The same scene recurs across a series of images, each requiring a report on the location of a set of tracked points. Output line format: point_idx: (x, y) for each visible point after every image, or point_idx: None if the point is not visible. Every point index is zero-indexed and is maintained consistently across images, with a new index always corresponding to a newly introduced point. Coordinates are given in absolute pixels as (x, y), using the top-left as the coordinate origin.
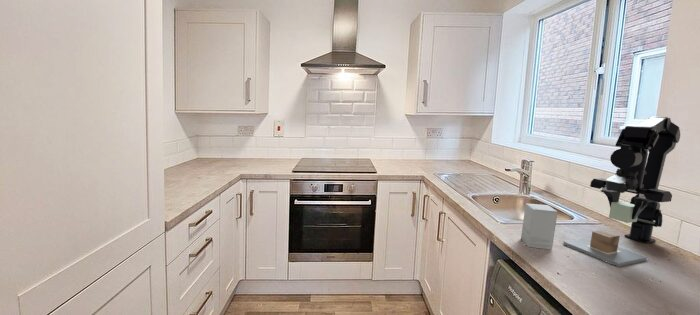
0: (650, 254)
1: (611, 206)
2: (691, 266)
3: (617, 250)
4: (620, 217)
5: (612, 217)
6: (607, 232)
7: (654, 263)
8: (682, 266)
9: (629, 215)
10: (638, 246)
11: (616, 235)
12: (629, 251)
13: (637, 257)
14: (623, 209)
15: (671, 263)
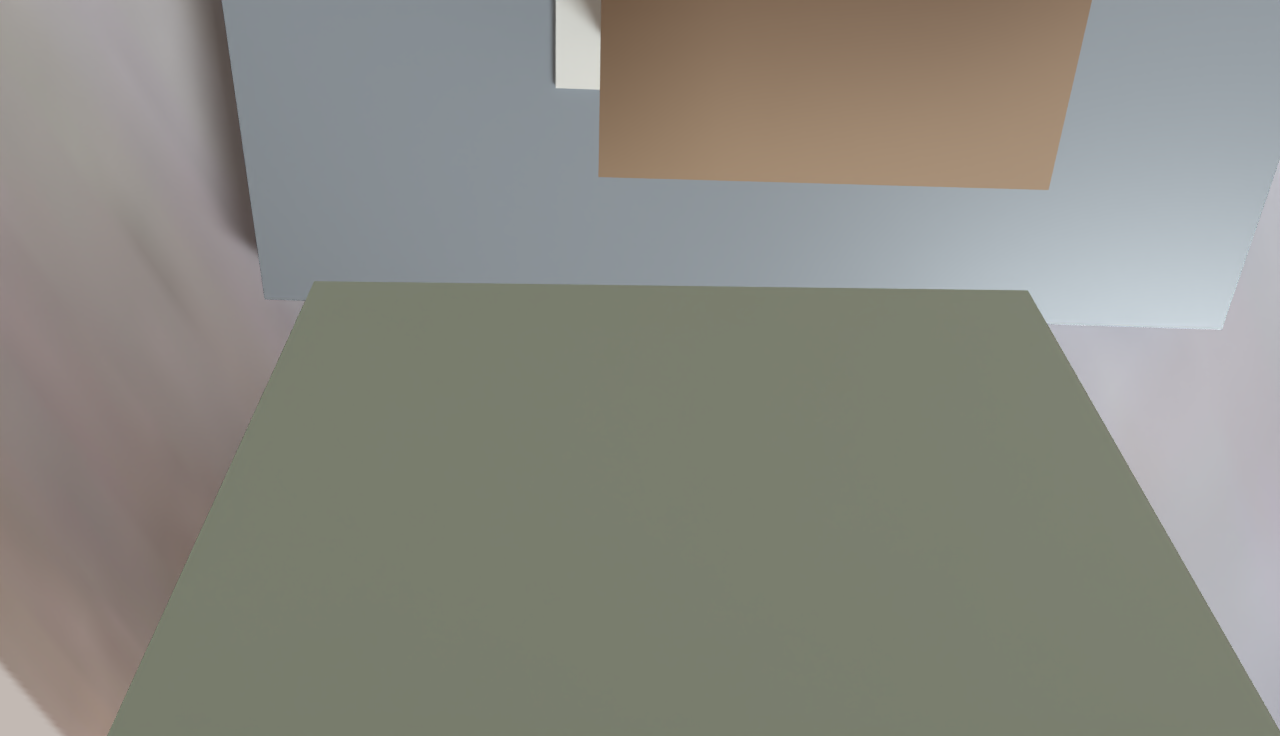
0: None
1: (1218, 697)
2: (9, 639)
3: None
4: (596, 373)
5: (898, 313)
6: (876, 105)
7: (161, 266)
8: (20, 537)
9: (224, 535)
10: None
11: (640, 97)
12: (517, 273)
13: (289, 111)
14: (487, 687)
15: (123, 508)
